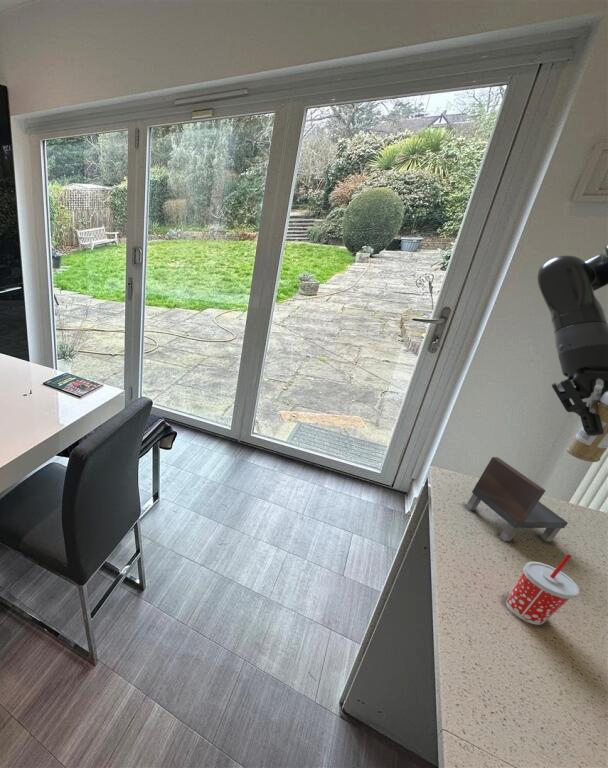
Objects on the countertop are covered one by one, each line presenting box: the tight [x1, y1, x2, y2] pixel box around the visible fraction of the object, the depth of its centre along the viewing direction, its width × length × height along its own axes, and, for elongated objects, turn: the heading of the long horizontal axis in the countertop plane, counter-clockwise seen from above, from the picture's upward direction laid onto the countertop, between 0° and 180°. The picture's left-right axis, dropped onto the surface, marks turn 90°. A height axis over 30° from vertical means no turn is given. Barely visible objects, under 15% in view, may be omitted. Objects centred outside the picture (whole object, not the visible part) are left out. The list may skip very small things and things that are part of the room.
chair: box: [465, 456, 569, 542], centre depth 83 cm, size 10×10×14 cm
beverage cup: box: [505, 554, 580, 626], centre depth 65 cm, size 6×6×14 cm
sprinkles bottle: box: [566, 391, 608, 463], centre depth 76 cm, size 5×5×13 cm
